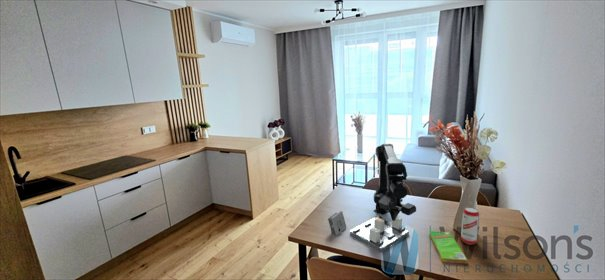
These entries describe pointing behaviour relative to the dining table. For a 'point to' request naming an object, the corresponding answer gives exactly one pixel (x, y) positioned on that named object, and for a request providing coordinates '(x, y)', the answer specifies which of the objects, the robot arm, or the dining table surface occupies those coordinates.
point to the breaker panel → (386, 237)
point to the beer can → (470, 225)
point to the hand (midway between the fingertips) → (393, 220)
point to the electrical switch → (337, 223)
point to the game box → (447, 247)
